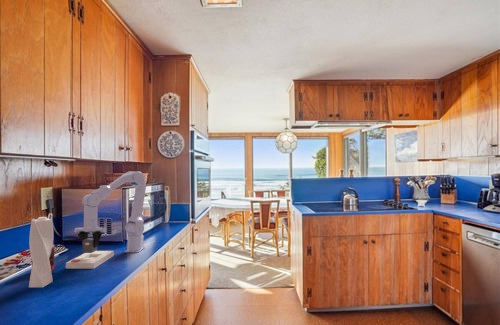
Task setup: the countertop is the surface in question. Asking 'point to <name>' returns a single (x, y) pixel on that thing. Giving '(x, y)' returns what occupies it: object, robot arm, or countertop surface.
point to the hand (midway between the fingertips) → (90, 247)
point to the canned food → (51, 257)
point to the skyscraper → (41, 251)
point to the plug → (88, 246)
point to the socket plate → (90, 259)
